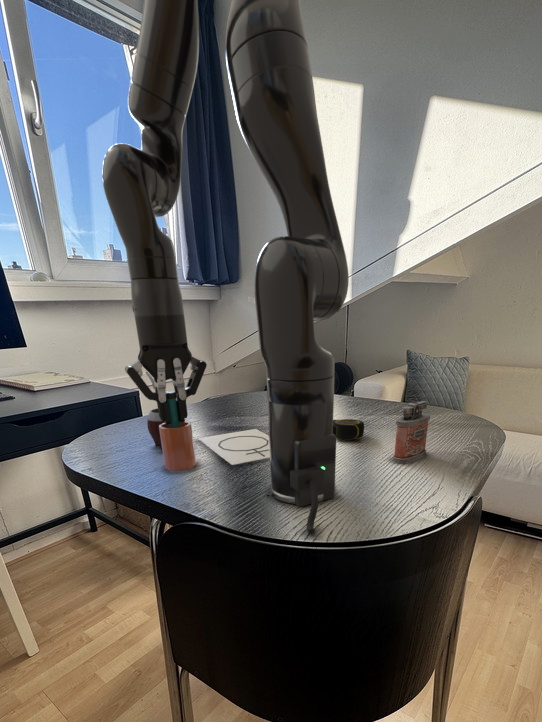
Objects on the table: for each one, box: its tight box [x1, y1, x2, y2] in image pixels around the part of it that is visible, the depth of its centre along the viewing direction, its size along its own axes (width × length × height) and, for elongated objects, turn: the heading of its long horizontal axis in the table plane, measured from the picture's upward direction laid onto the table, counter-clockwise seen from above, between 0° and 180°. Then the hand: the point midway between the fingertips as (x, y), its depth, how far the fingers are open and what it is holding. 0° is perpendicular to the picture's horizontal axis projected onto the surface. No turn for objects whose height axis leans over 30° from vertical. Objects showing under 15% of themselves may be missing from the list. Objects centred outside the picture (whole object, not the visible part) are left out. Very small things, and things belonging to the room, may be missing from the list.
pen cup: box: [159, 420, 197, 472], centre depth 73 cm, size 5×5×8 cm
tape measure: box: [333, 418, 365, 441], centre depth 87 cm, size 7×7×4 cm
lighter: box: [392, 400, 431, 464], centre depth 74 cm, size 8×3×10 cm, turn 129°
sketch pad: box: [197, 428, 270, 466], centre depth 85 cm, size 20×14×1 cm
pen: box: [166, 390, 180, 428], centre depth 72 cm, size 2×2×13 cm
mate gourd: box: [145, 371, 164, 452], centre depth 83 cm, size 8×8×15 cm
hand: (174, 421), depth 71 cm, fingers closed
